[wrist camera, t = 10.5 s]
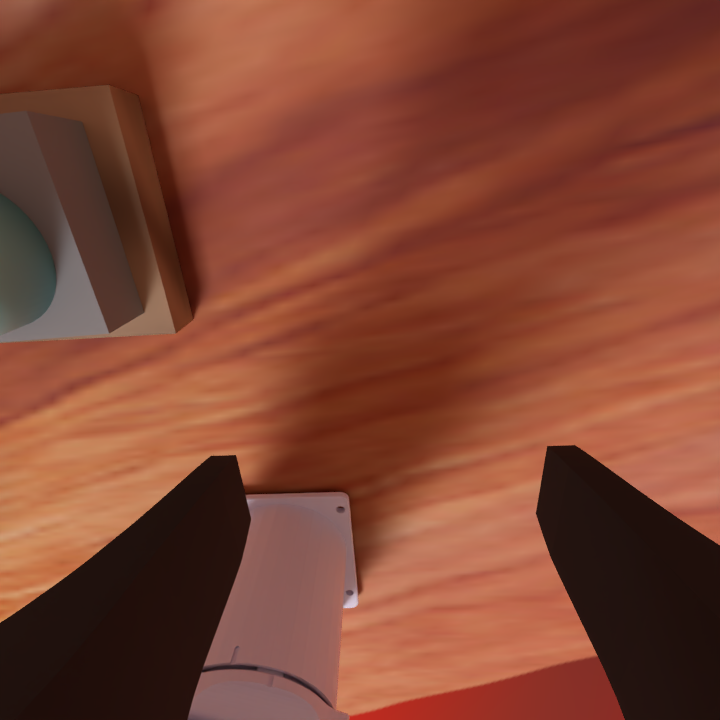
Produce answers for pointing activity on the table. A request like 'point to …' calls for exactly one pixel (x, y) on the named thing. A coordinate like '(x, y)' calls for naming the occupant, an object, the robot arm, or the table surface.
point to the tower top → (67, 226)
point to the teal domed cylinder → (23, 269)
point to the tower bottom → (124, 197)
